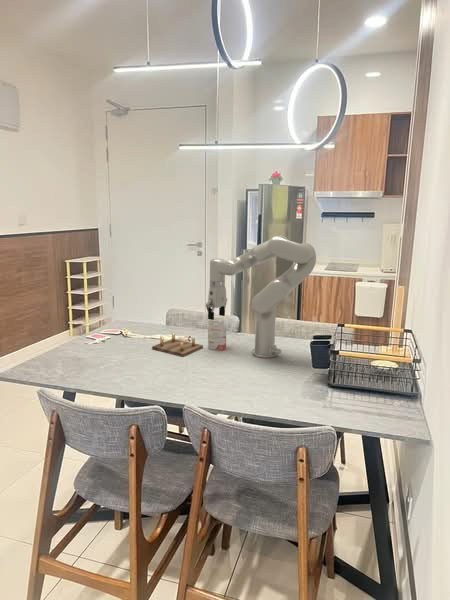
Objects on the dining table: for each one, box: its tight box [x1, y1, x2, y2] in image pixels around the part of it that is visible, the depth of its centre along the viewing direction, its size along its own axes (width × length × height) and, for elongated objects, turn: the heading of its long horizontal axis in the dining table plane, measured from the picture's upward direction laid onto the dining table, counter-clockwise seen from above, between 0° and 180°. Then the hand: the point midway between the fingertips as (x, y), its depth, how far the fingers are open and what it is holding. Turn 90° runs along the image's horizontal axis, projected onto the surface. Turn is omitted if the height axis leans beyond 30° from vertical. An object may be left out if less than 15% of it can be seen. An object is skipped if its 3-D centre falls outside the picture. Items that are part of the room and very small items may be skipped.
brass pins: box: [159, 333, 196, 351], centre depth 215 cm, size 15×11×4 cm
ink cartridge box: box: [207, 320, 227, 351], centre depth 215 cm, size 9×5×15 cm, turn 73°
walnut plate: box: [151, 338, 204, 358], centre depth 215 cm, size 20×16×2 cm
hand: (216, 317), depth 213 cm, fingers open, 9 cm apart
